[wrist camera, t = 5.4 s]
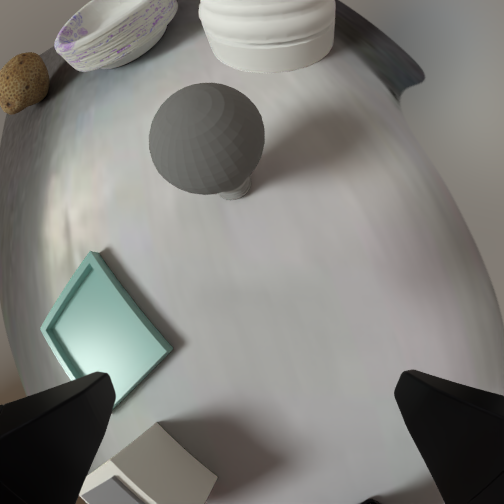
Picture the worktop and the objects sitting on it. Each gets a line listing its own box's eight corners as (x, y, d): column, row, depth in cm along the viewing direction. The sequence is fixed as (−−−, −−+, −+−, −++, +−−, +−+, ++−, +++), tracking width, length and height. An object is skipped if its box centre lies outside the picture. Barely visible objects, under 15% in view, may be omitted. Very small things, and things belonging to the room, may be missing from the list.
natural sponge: (29, 133, 27) (-17, 104, 17) (19, 114, 28) (-18, 88, 19) (69, 82, 27) (28, 45, 17) (54, 70, 28) (20, 39, 19)
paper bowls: (210, 23, 24) (192, -26, 16) (107, 103, 24) (67, 62, 16) (152, 5, 27) (132, -29, 19) (73, 68, 27) (44, 39, 20)
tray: (173, 348, 19) (166, 351, 18) (107, 414, 19) (100, 419, 18) (98, 252, 21) (90, 250, 20) (48, 327, 22) (40, 328, 20)
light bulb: (238, 241, 20) (184, 193, 10) (181, 194, 21) (106, 130, 11) (291, 178, 20) (285, 87, 10) (231, 137, 21) (190, 47, 11)
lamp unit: (218, 477, 17) (189, 531, 10) (163, 504, 17) (130, 546, 10) (156, 422, 19) (106, 462, 11) (112, 457, 19) (67, 489, 11)
